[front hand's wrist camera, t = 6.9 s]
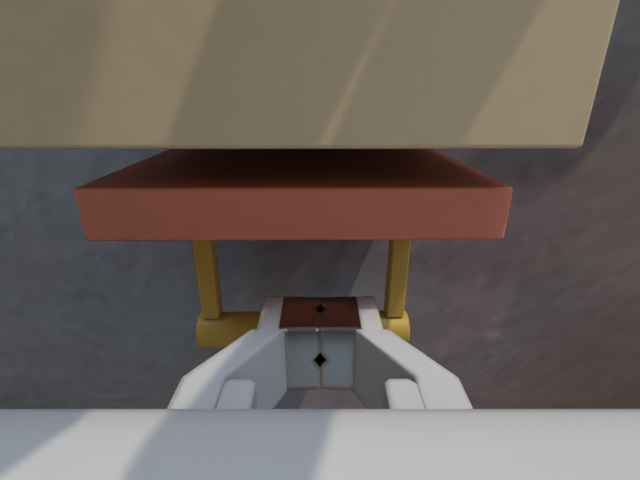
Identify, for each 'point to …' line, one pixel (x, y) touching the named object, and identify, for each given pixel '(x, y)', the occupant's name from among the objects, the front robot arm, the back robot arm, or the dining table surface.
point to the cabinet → (300, 73)
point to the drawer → (293, 210)
